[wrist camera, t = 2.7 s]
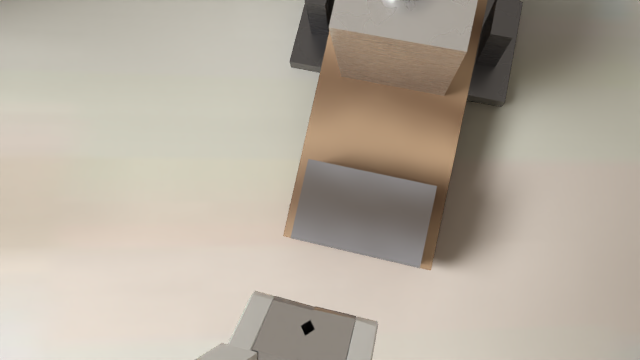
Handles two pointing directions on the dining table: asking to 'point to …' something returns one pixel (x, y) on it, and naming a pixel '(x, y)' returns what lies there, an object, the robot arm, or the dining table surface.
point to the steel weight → (402, 41)
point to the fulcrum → (488, 62)
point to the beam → (379, 163)
